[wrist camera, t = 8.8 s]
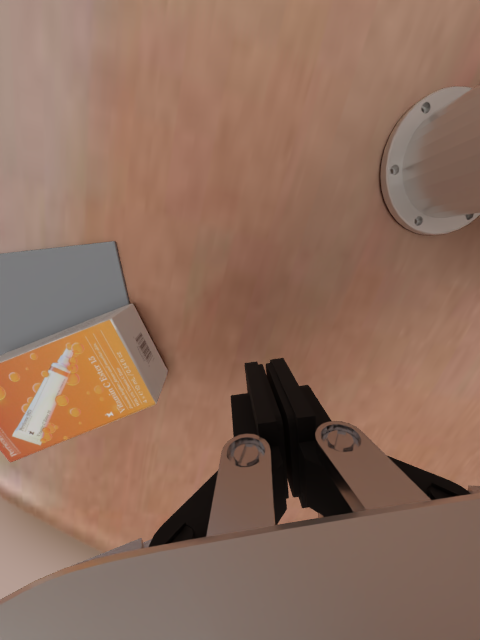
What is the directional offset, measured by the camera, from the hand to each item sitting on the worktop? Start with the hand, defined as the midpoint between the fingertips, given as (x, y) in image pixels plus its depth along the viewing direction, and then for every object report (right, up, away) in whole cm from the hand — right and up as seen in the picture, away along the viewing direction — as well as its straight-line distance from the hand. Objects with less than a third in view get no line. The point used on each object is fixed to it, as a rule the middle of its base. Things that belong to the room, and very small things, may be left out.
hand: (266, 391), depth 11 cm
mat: (-19, +1, +14) cm, 24 cm away
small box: (-9, +1, +12) cm, 15 cm away
